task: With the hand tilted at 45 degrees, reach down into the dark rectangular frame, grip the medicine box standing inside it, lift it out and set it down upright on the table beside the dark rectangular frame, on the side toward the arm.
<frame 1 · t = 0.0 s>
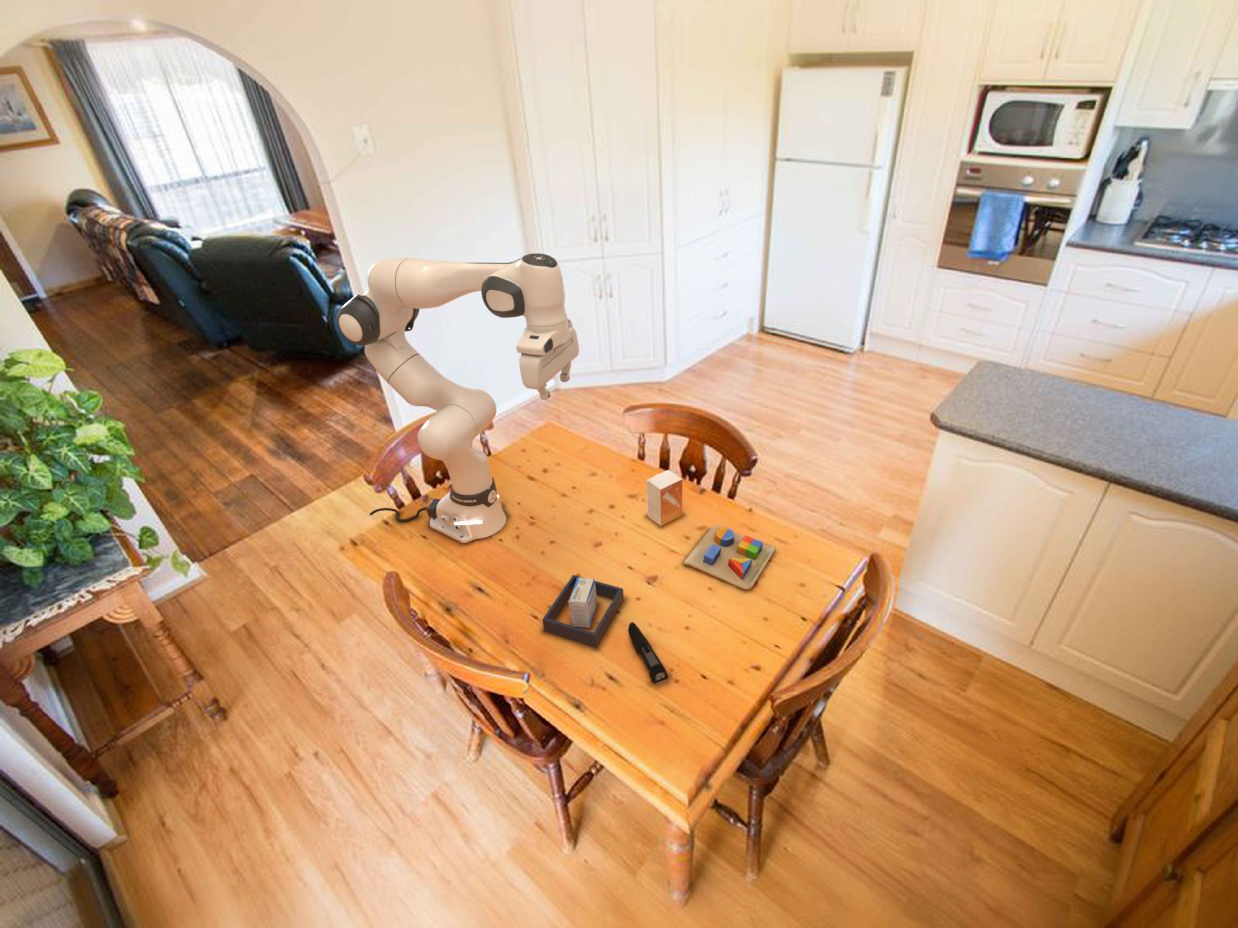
hand: (555, 389, 140), 48 cm above the table, tool pointing down, fingers open, 8 cm apart
electric trimmer: (645, 657, 135), on the table
small box: (665, 516, 175), on the table
dark rectangular frame: (585, 615, 146), on the table
medicine box: (585, 615, 146), resting in dark rectangular frame
shape puzzle: (729, 559, 159), on the table
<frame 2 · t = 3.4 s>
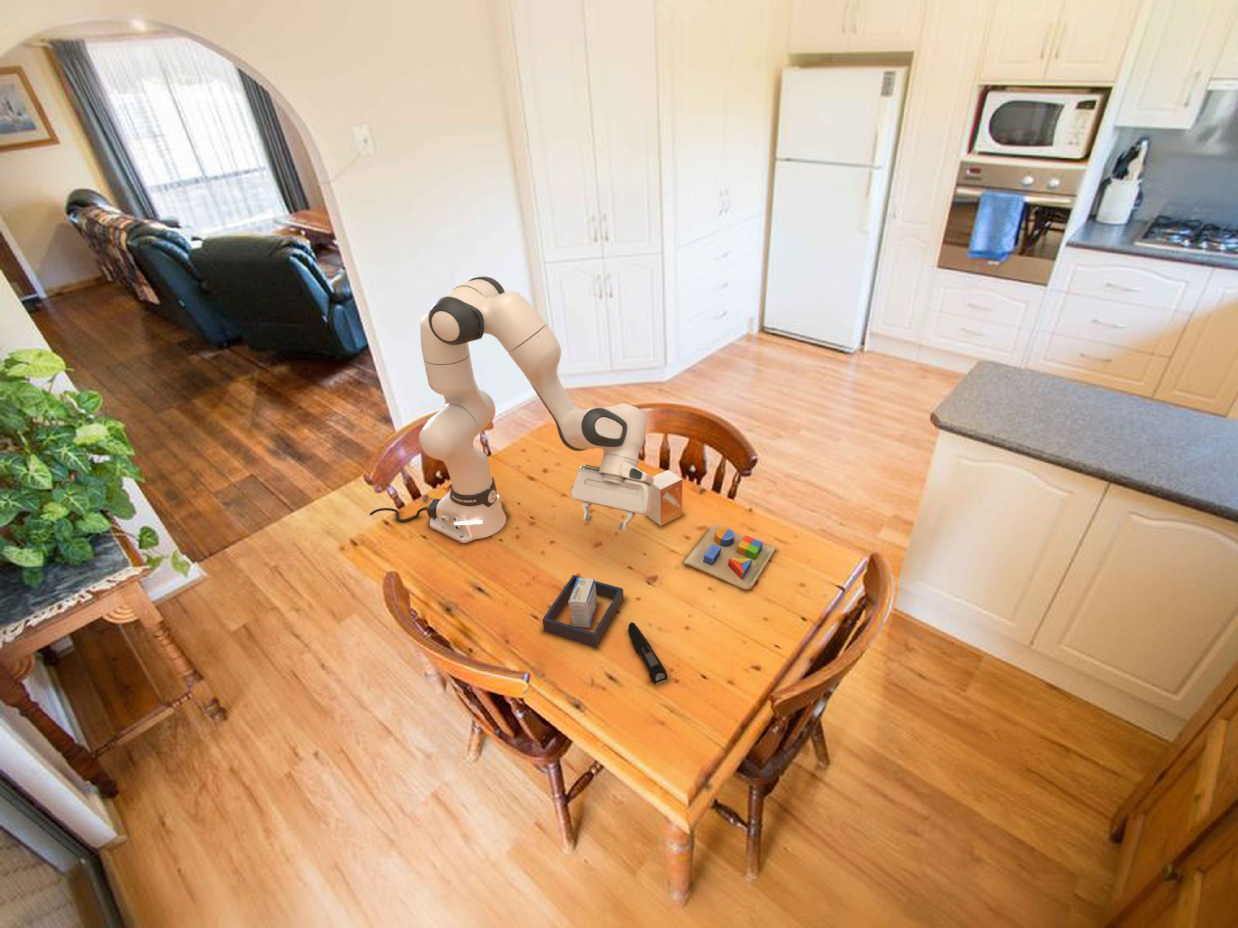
hand: (604, 526, 146), 17 cm above the table, tool tilted 45°, fingers open, 8 cm apart
nothing on the table moved.
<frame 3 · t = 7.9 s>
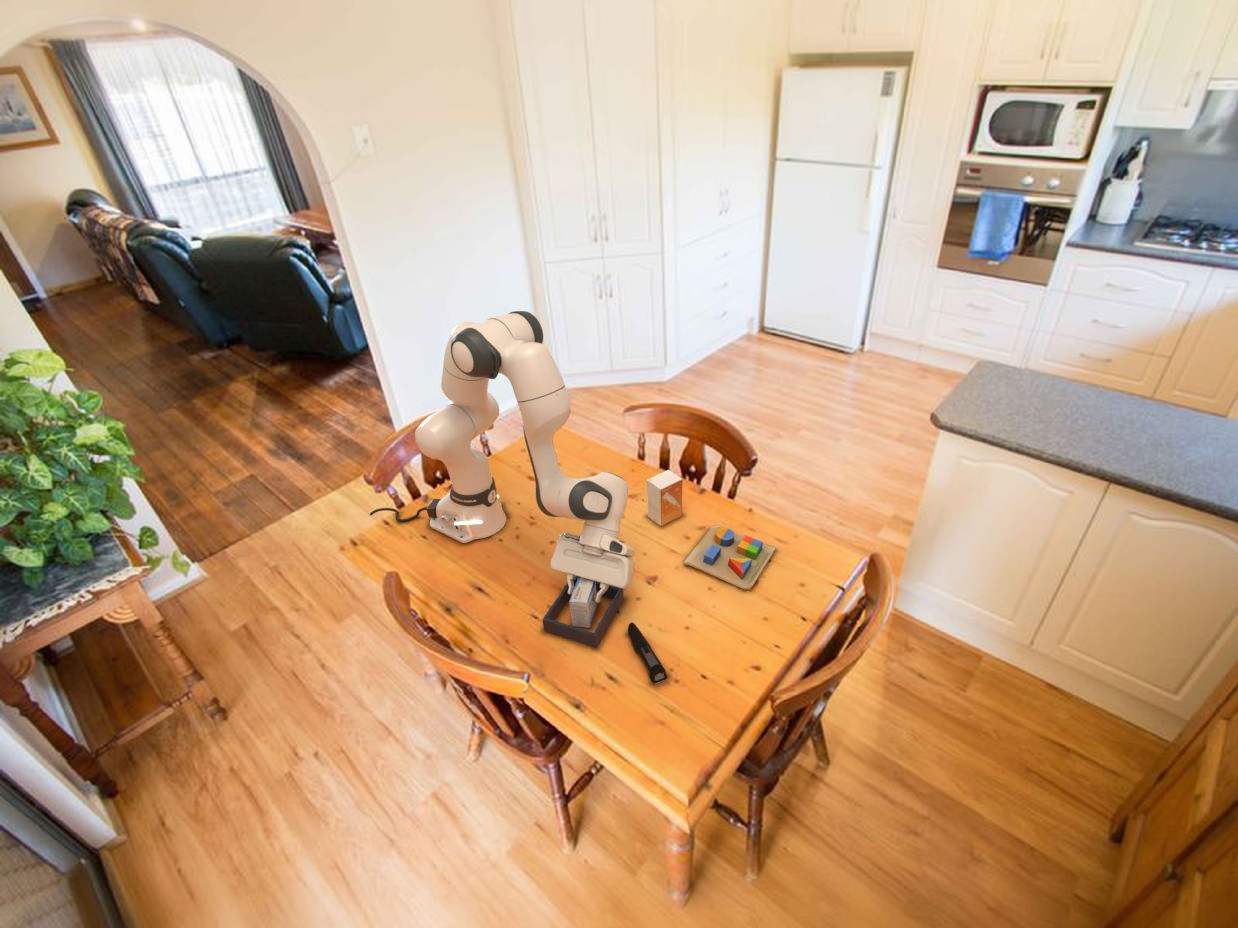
hand: (583, 598, 143), 5 cm above the table, tool tilted 45°, fingers closed on medicine box, 5 cm apart
medicine box: (585, 615, 146), resting in dark rectangular frame, touching gripper
everything else where it was.
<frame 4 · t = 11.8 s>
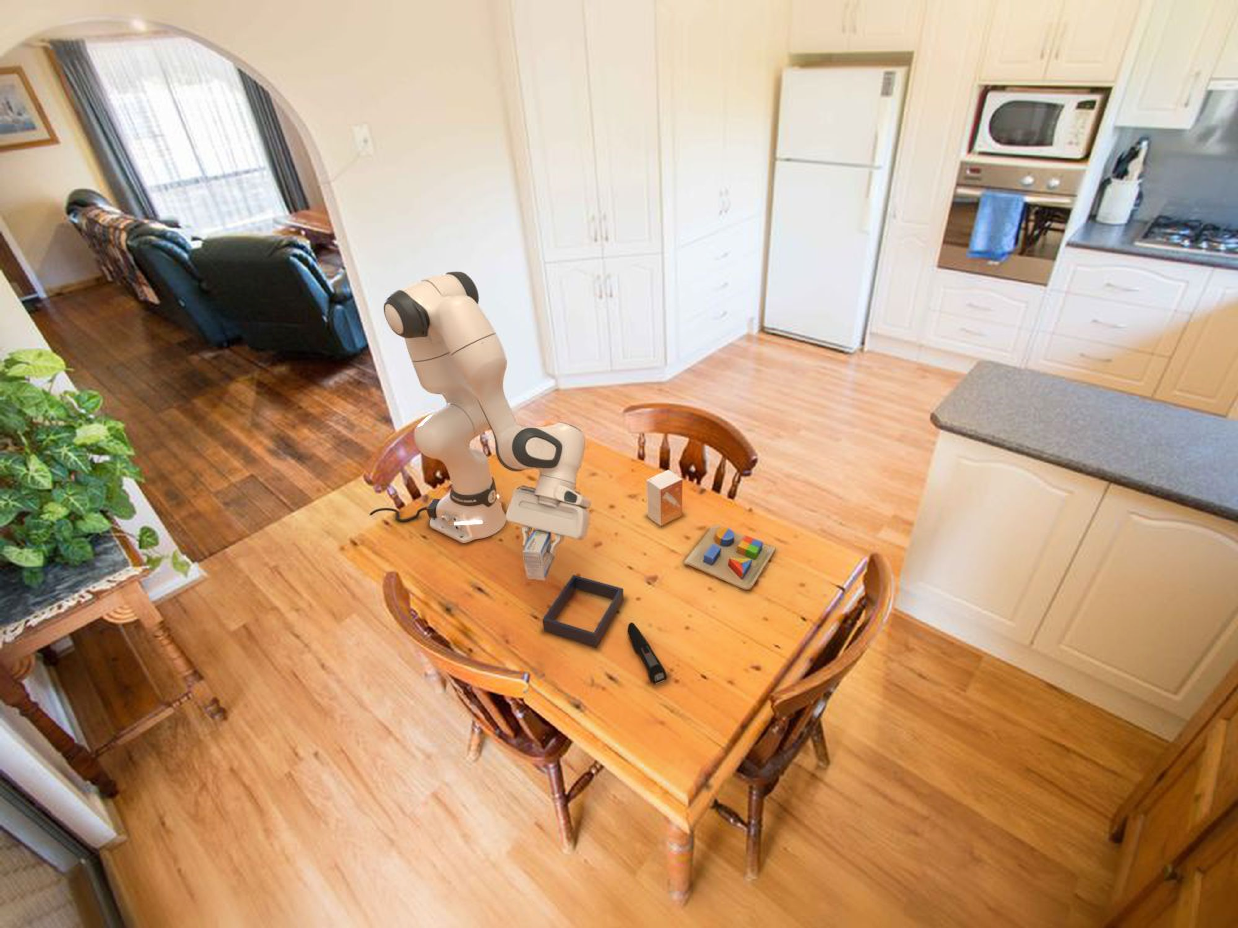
hand: (538, 550, 140), 17 cm above the table, tool tilted 45°, fingers closed on medicine box, 5 cm apart
medicine box: (540, 568, 143), point 11 cm above the table, touching gripper
everything else where it was.
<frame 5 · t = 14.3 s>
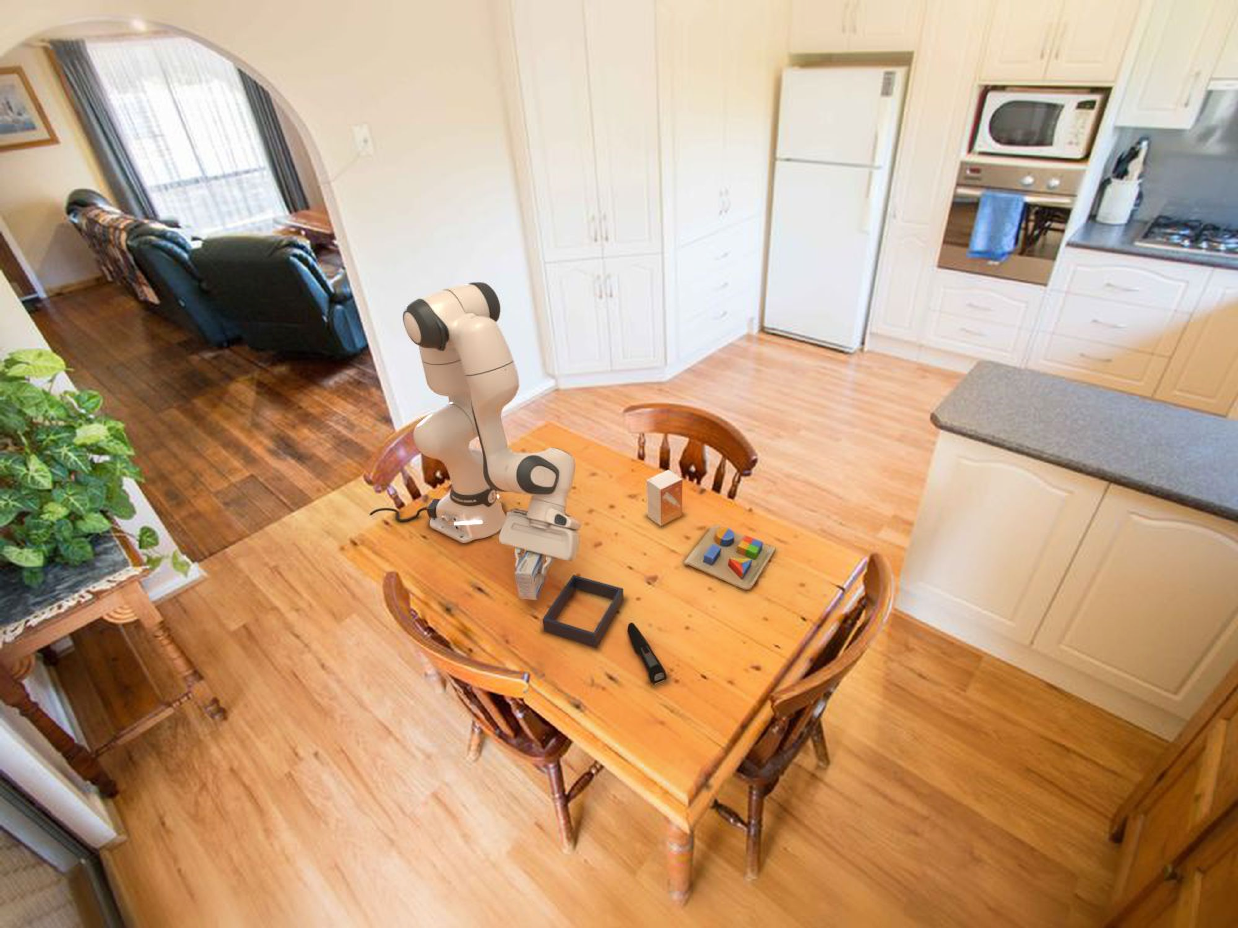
hand: (530, 571, 146), 9 cm above the table, tool tilted 45°, fingers closed on medicine box, 5 cm apart
medicine box: (533, 588, 148), point 4 cm above the table, touching gripper
everything else where it was.
when the fingers open (5 cm above the table, at t = 16.0 s): medicine box stays where it is, on the table.
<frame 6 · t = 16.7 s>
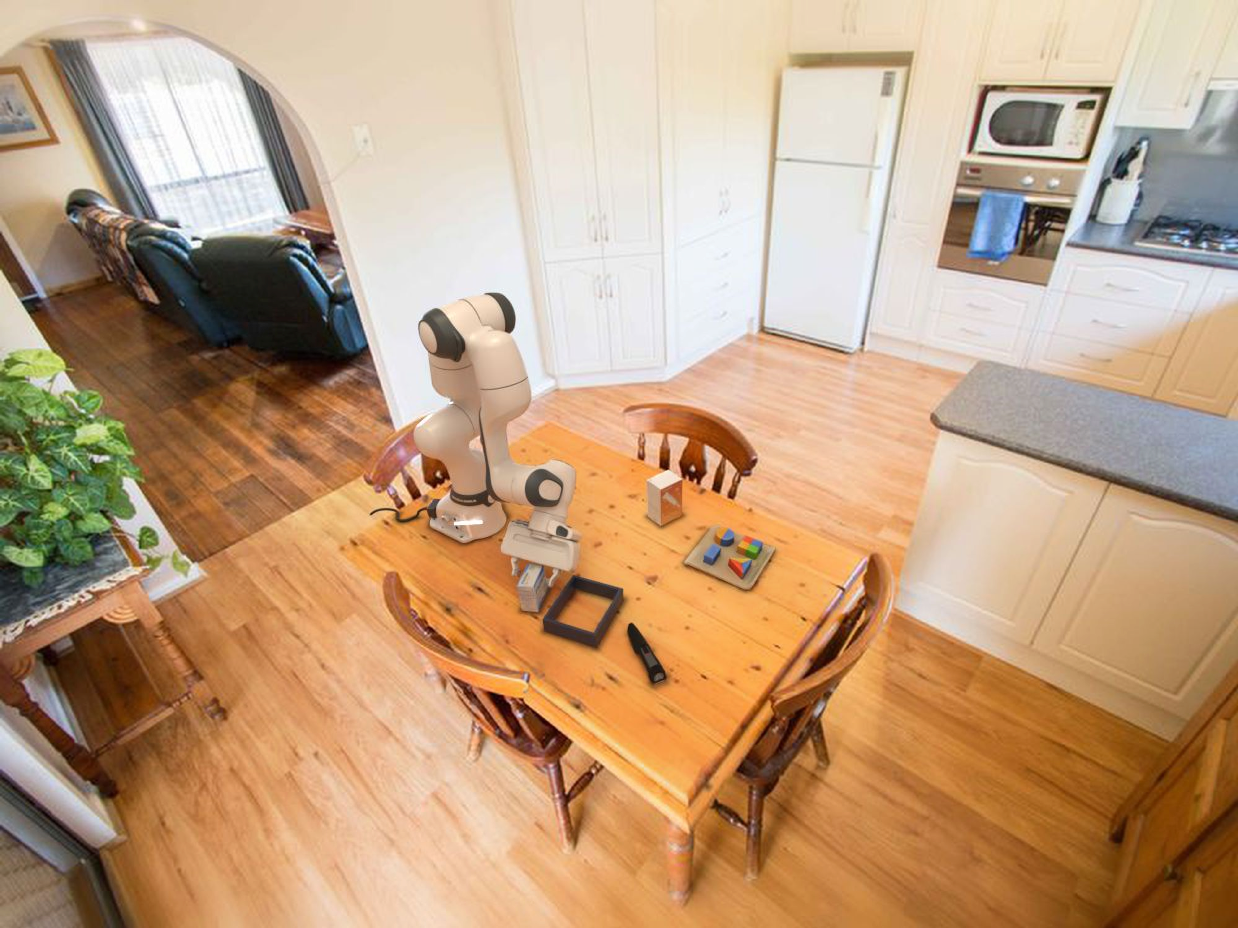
hand: (531, 581, 148), 6 cm above the table, tool tilted 45°, fingers open, 8 cm apart
medicine box: (535, 600, 151), on the table
everything else where it was.
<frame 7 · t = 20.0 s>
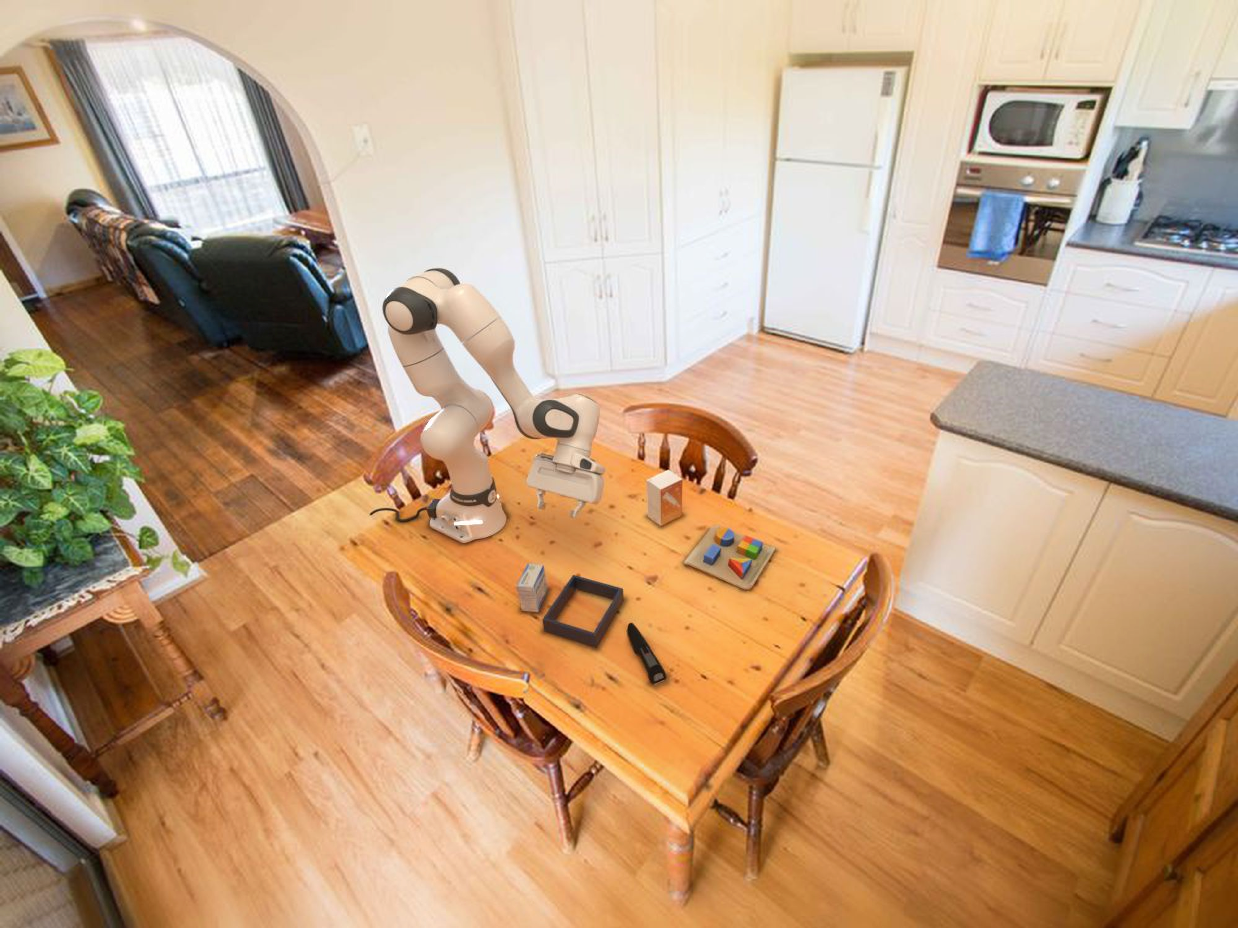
hand: (556, 513, 152), 17 cm above the table, tool tilted 40°, fingers open, 8 cm apart
nothing on the table moved.
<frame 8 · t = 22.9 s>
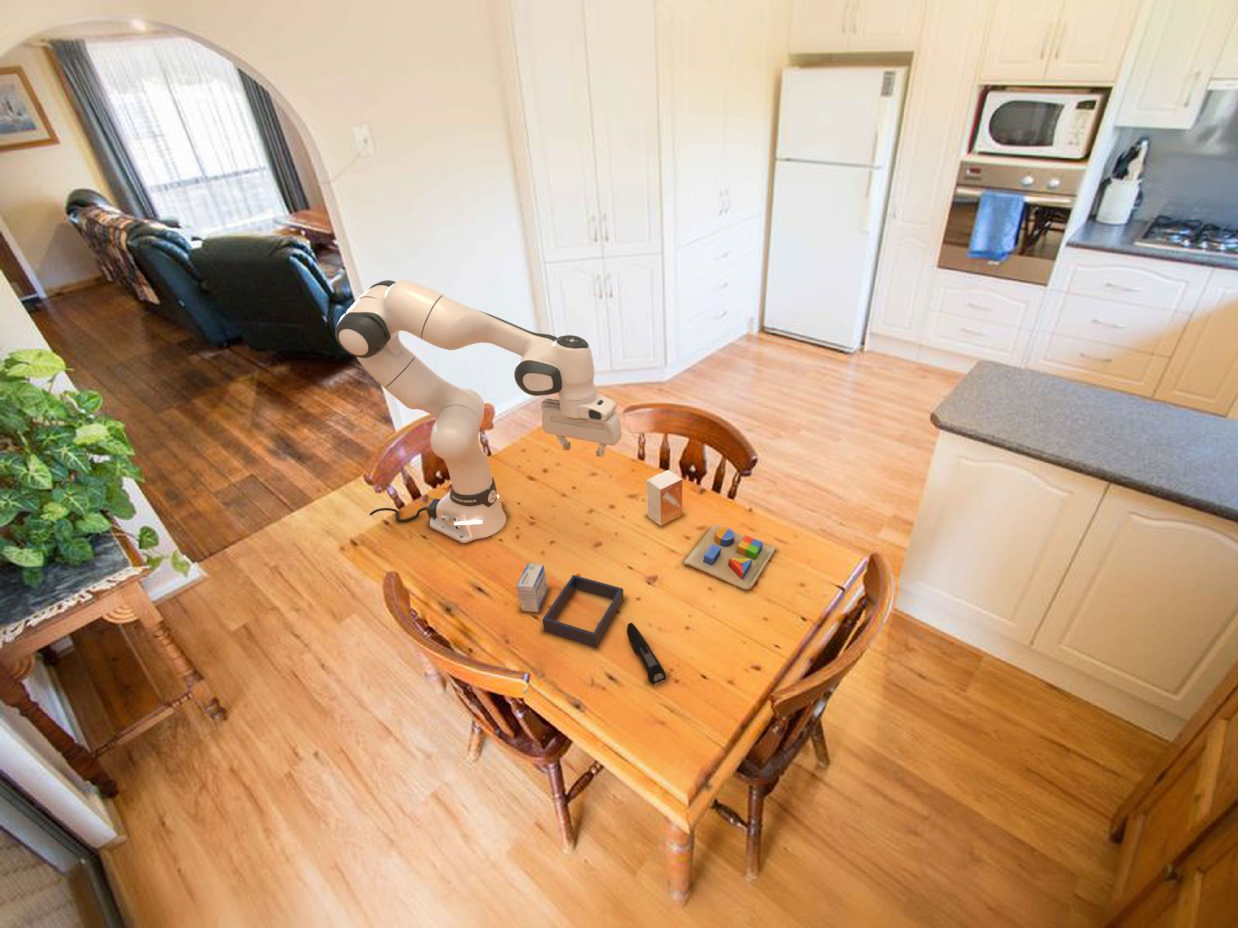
hand: (583, 452, 152), 29 cm above the table, tool pointing down, fingers open, 8 cm apart
nothing on the table moved.
at the end: medicine box inside the target area (1.1 cm from its centre), on the table; medicine box tilted 0°; the gripper is holding nothing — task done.
